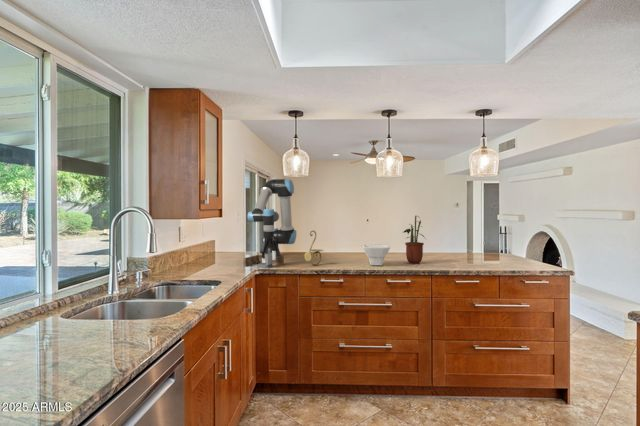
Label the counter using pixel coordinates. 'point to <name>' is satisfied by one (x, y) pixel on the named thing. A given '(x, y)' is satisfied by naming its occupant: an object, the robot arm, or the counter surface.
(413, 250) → the potted plant
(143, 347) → the counter surface
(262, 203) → the robot arm
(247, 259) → the corner walls
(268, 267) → the mat
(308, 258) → the wall sconce
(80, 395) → the counter surface
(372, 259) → the bowl
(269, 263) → the angle bracket
